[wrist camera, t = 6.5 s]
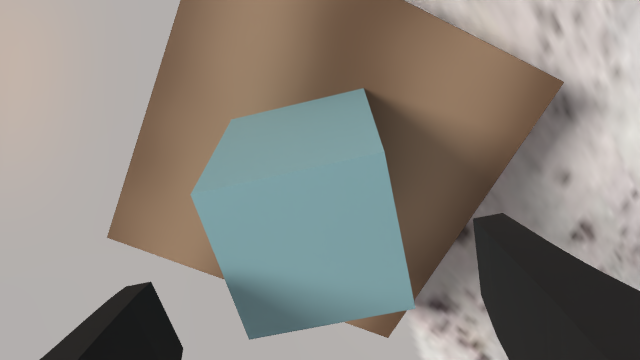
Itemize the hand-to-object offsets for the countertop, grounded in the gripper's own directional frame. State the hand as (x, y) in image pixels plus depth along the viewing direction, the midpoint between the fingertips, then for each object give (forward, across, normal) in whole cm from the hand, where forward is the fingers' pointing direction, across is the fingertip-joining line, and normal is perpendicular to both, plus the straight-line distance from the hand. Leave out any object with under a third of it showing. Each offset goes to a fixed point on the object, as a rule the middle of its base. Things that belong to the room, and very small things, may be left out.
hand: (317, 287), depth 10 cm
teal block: (+7, 0, 0) cm, 7 cm away
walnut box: (+10, 0, 0) cm, 10 cm away
